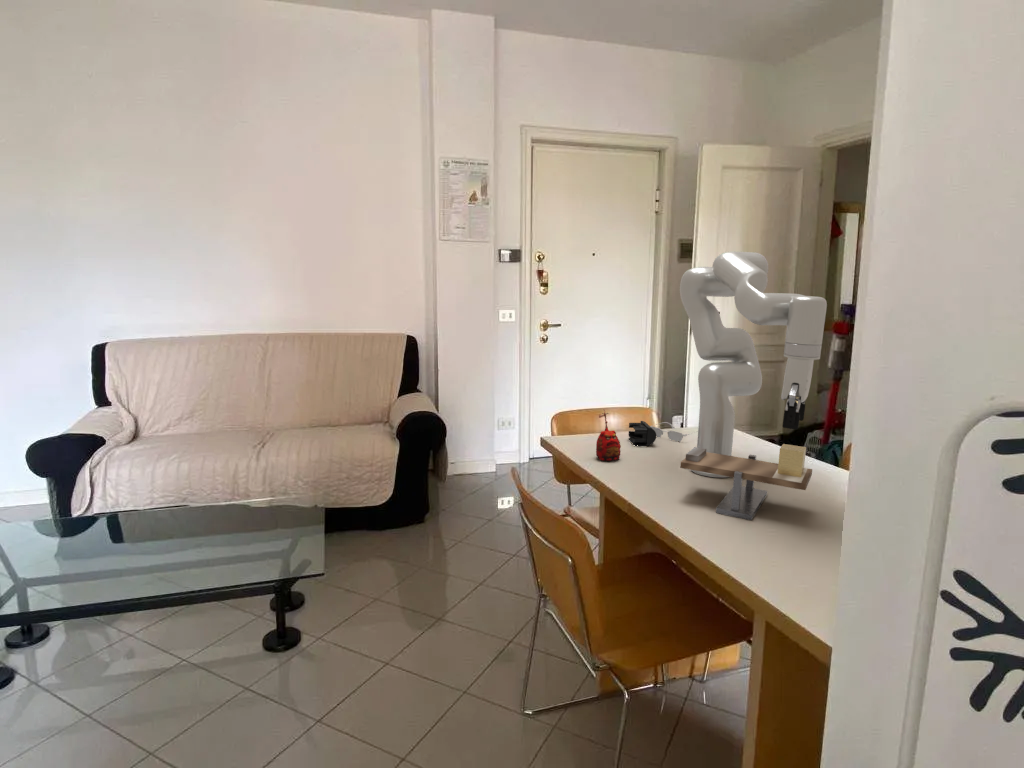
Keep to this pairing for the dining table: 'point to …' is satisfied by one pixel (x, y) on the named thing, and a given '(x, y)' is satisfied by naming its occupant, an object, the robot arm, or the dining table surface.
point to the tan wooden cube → (791, 460)
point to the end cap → (642, 434)
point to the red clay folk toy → (607, 444)
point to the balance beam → (743, 468)
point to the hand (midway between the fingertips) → (793, 423)
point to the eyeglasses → (669, 433)
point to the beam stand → (742, 498)
